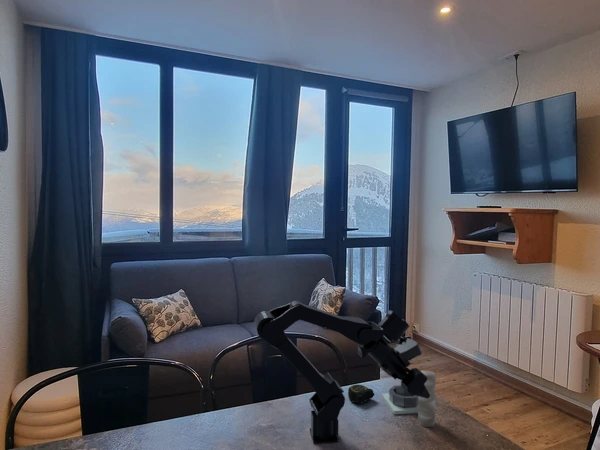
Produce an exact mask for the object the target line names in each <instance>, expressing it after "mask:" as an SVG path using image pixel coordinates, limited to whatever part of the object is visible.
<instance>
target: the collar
mask: <svg viewBox="0 0 600 450" xmlns="http://www.w3.org/2000/svg"><path fill="white" fill-rule="evenodd" d="M388 393H389V400H390V401H391V402H392V404H394V405H396V406H399V407H402V408H415V407H417V406H418V396H416V395H414V396H411V395H410V394H409V393H408V392H407V391H406V390H405V389H403V388H402V387H401V384H398V385H393V386H392V387H390V388H389V392H388ZM404 396H407V397H404Z"/></svg>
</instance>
